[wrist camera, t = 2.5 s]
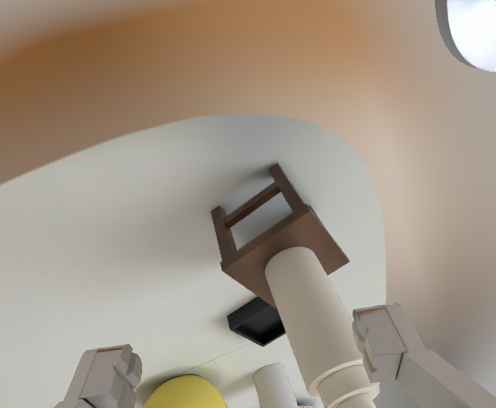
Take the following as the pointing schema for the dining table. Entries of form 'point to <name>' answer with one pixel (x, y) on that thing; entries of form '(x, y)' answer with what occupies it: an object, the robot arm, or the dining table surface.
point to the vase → (186, 394)
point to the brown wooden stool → (274, 238)
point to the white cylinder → (274, 387)
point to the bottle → (319, 330)
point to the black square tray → (257, 322)
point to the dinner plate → (301, 407)
